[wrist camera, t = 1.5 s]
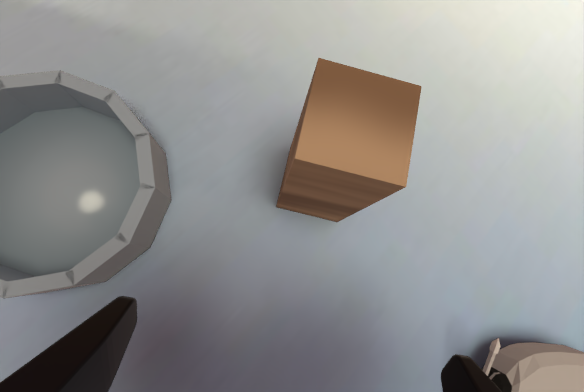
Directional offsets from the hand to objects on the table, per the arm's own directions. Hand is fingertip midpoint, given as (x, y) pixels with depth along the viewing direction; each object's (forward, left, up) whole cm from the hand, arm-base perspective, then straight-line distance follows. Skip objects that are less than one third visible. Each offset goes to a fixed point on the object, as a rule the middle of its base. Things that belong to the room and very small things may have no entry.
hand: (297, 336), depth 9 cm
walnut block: (+4, -7, -13) cm, 16 cm away
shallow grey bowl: (+14, +6, -13) cm, 20 cm away
